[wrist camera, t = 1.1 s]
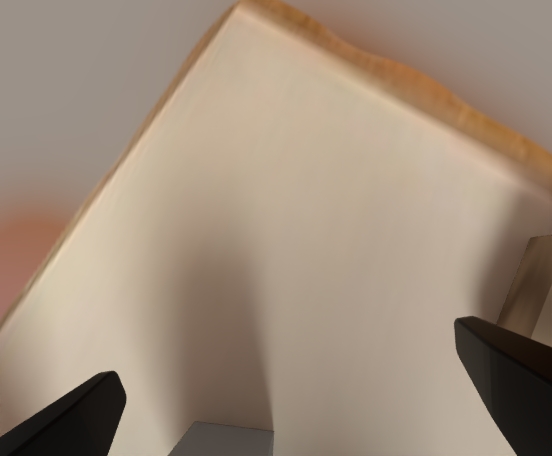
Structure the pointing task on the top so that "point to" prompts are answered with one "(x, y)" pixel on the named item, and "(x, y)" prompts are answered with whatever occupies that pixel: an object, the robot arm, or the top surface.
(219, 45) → the top surface
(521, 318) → the taupe square slab
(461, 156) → the top surface
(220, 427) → the grey rectangular pillar
